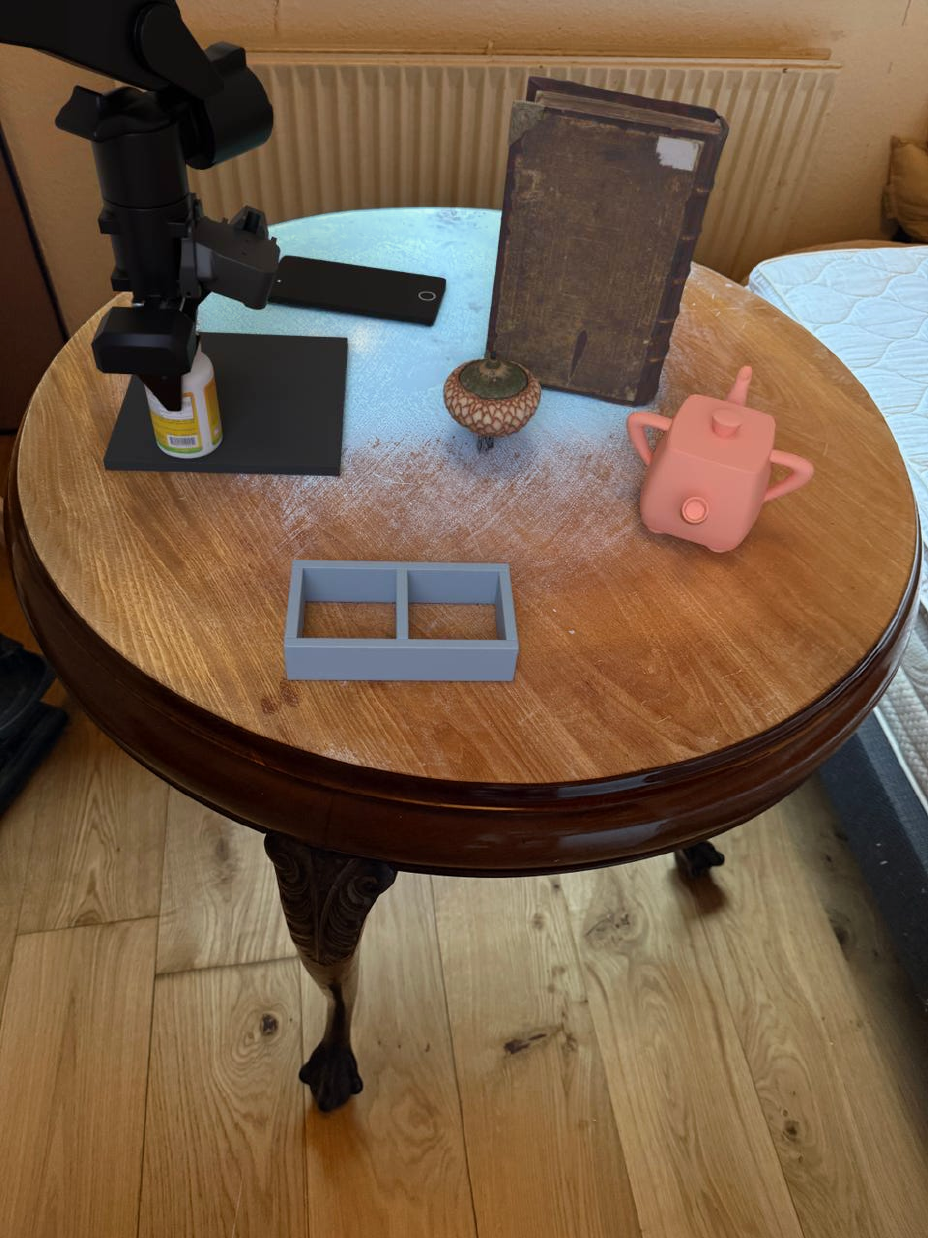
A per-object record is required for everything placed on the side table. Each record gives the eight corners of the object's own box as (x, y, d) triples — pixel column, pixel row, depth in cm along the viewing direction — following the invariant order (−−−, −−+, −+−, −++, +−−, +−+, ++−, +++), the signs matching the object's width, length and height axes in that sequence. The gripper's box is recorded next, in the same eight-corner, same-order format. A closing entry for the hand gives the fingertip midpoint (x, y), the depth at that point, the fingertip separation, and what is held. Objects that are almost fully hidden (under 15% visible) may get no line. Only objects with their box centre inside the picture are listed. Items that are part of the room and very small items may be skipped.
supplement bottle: (199, 413, 80) (182, 310, 73) (236, 443, 77) (222, 339, 70) (144, 437, 77) (120, 332, 70) (180, 469, 75) (160, 363, 68)
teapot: (800, 565, 74) (848, 463, 66) (666, 588, 71) (700, 484, 64) (718, 456, 83) (752, 356, 76) (596, 473, 80) (619, 370, 73)
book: (662, 385, 90) (736, 108, 72) (648, 424, 85) (723, 140, 67) (499, 344, 93) (530, 68, 74) (477, 380, 88) (504, 95, 70)
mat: (105, 470, 75) (102, 460, 75) (148, 338, 89) (147, 329, 88) (339, 476, 77) (339, 466, 76) (347, 346, 91) (347, 337, 90)
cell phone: (432, 327, 94) (433, 319, 93) (259, 301, 95) (258, 293, 94) (446, 285, 100) (447, 277, 99) (284, 261, 101) (283, 253, 100)
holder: (286, 680, 62) (283, 646, 60) (295, 593, 68) (292, 559, 65) (513, 681, 64) (519, 648, 61) (503, 596, 69) (508, 563, 67)
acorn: (507, 415, 85) (520, 316, 77) (548, 469, 80) (566, 368, 72) (424, 432, 82) (429, 330, 75) (461, 489, 77) (470, 386, 70)
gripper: (253, 262, 57) (272, 465, 68) (278, 143, 69) (291, 331, 81) (65, 253, 56) (117, 461, 67) (125, 134, 68) (160, 326, 80)
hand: (180, 389), depth 74 cm, fingers closed on supplement bottle, 5 cm apart
